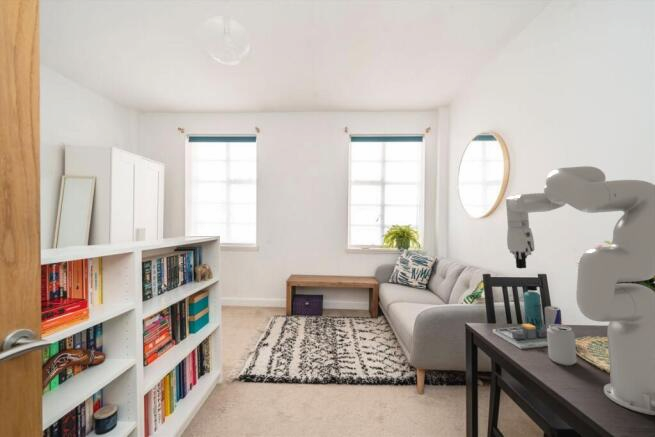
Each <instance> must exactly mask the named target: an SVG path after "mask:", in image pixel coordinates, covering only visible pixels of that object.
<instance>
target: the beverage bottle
mask: <svg viewBox="0 0 655 437" xmlns="http://www.w3.org/2000/svg"><path fill="white" fill-rule="evenodd" d="M525 290H526V291H525V292H524V293H523V294H522V295H523V307H524V309H523V310H524V313H523V314H524V315H523V316H524V324H531V325H533V326H535V327H536V329H541V330H542V329H543V325H544V324H543V321H544V320H543V315H542V314H543V313H542V301H541V297H542V296H541V294H539V293H538V292H537V291H538V286H537V285H536V284H532V283H530V284H526V285H525Z"/></svg>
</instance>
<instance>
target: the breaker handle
mask: <svg viewBox="0 0 655 437" xmlns="http://www.w3.org/2000/svg"><path fill="white" fill-rule="evenodd" d="M521 326H522V329H523V333H525V338H526V339H528V340H530V339H536V333H535V329H536V327H535V326H533V325H531V324H525V323H522V324H521Z"/></svg>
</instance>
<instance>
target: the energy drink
mask: <svg viewBox="0 0 655 437" xmlns="http://www.w3.org/2000/svg"><path fill="white" fill-rule="evenodd" d="M544 320H545V331H546V336H547V329H548V328H549V325H551V324H560V325H563V322H562V310H561V308H559V307H558V306H553V305H552V306H551V305H548V306H544Z"/></svg>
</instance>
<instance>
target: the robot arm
mask: <svg viewBox="0 0 655 437" xmlns="http://www.w3.org/2000/svg"><path fill="white" fill-rule="evenodd" d="M505 203H506V204H505V206H506V207H505V208H506V216H507V217H506V218H507V234H506V243H507V244H506V245H507V249H508V250H509V253H510V254H513V256H514V259H515V266H516V268H517V269H526V268H527V260H526V259H527V258H528V256H532V252H534V251H535V240H534V235H533V232H532V229H531V228H530V221H529V220H530V219H529V213H530V214H531V213H543V212H545V213H547V212H550V211H554V210H556V209H560V208H562V207H564V206H566V205H569V206H570V207H573V209H576V210H577V211H580V212H583V213H589V214H593V213H596V214H597V213H611V212H623V215H622V216H621V217H620V218H619V219H618V220H617V222H616V223H615V225H614V227H613V231H612V232H613V233H612V241H611V244H610V245H609V246H600V247H593V248H590V249H588V250H586V251H584V253H583V254H582V255H581V257H580V258H579V262H578V269H577V278H576V280H577V281H576V296H575V297H576V304H577V308H578V309H579V311H580V312H581V314H582V315H583V316H585V318H587V319H589V320H592V321H593V322H594V321H595V322H601V323H602V322H603V323H604V322H605V323H606V322H608V325H607V329H606V330H607V332H606V335H607V336H606V337H607V347H608V349H607V353H608V365H609V366H608V367H609V376H610V383H607V384H604V386H603V393H604V394H605V396H606V397H607V398H608V399H610V401H613V402H614V403H615V404H618V405H619V406H621V407H624V408H626V409H629V410H632V411H635V412H638V413H641V414H645V415H651V416H655V291H654V290H653V289H651V288H650V287H647V286H645V285H642V284H639V283H634V282H641V281H642V282H643V281H647V280H648V281H649V280H651V279H652V278H654V277H655V184H653V183H651V182H649V181H646V180H645V181H644V180H639V179H619V180H617V179H616V180H607V181H606V174H605V172H604V171H602V170H601V169H600V168H598V167H595V166H589V165H586V166H585V165H584V166H573V167H572V166H571V167H570V166H568V167H559V168H556V169H554V170H552V171H551V172H550V173H548V175H547V177H546V179H545V186H544V187H543V192H539V193H538V192H537V193H536V192H535V193H522V194H518V195H514V196H513V195H512V196H508V197H507V198H506V199H505ZM632 282H633V283H632Z"/></svg>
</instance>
